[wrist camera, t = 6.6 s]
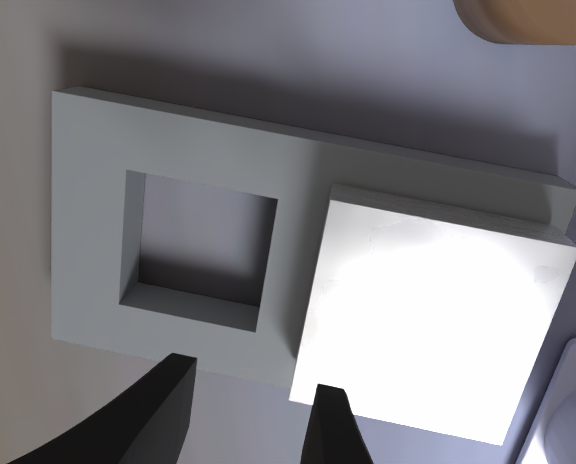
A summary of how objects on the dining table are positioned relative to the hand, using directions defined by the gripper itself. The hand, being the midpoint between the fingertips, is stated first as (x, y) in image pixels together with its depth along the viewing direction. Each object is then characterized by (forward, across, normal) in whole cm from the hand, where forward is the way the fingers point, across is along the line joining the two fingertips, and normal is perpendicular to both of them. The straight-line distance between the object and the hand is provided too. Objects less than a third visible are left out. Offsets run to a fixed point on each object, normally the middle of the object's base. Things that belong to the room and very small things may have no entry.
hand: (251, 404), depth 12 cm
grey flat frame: (+9, 0, 0) cm, 9 cm away
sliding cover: (+7, -5, 0) cm, 9 cm away
